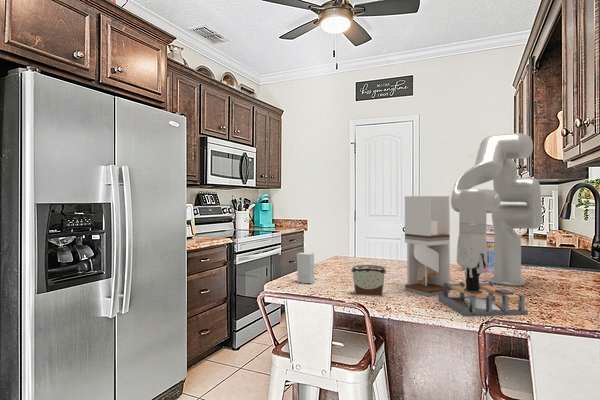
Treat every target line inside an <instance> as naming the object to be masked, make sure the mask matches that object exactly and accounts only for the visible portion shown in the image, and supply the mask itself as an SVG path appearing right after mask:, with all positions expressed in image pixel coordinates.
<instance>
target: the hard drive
mask: <svg viewBox="0 0 600 400" xmlns="http://www.w3.org/2000/svg"><path fill="white" fill-rule="evenodd" d="M463 302H465V304H466V306H467V307H468V308H469V309H470V298H464V301H463ZM492 310H501V308H499V307H498V306H497V305H496V304H495V303H494V301H492ZM475 311H486V299H475Z"/></svg>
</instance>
